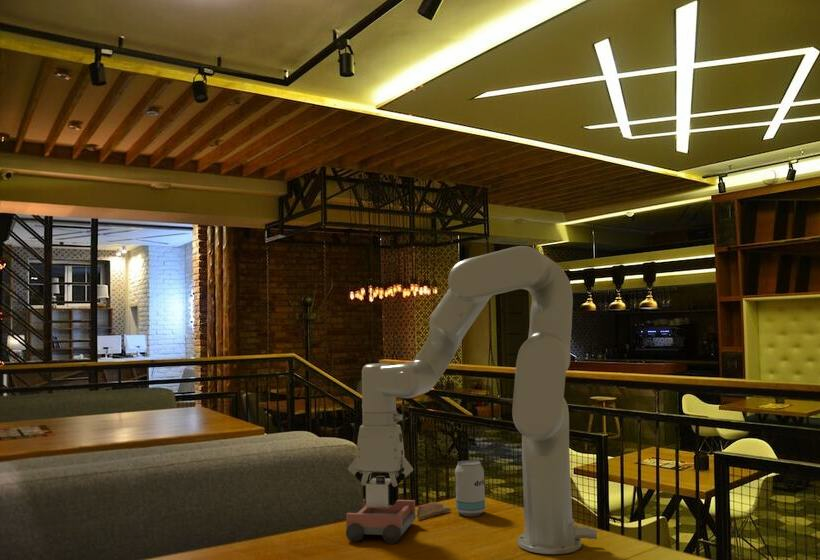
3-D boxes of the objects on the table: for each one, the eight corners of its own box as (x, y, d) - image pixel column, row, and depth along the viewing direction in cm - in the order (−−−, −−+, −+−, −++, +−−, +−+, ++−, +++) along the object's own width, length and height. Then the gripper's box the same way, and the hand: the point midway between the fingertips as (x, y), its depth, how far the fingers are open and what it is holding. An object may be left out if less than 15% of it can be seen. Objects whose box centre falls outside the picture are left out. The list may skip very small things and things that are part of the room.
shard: (417, 523, 154) (416, 515, 154) (397, 516, 160) (396, 509, 160) (451, 513, 161) (451, 506, 161) (431, 508, 167) (431, 500, 167)
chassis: (416, 523, 151) (415, 499, 152) (400, 544, 137) (399, 517, 137) (366, 521, 154) (365, 497, 155) (345, 541, 140) (344, 515, 140)
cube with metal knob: (395, 501, 148) (394, 474, 149) (388, 508, 143) (387, 480, 143) (374, 500, 150) (373, 473, 150) (366, 507, 144) (365, 479, 144)
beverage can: (477, 519, 154) (475, 466, 155) (451, 515, 157) (449, 464, 158) (490, 511, 160) (488, 461, 161) (464, 508, 163) (462, 458, 164)
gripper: (420, 417, 149) (422, 500, 148) (348, 417, 153) (349, 497, 152) (412, 422, 142) (414, 509, 140) (337, 421, 146) (338, 506, 144)
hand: (380, 502), depth 146 cm, fingers closed on cube with metal knob, 5 cm apart
